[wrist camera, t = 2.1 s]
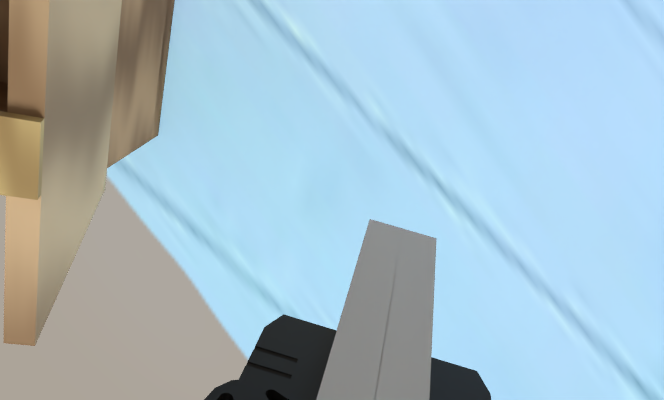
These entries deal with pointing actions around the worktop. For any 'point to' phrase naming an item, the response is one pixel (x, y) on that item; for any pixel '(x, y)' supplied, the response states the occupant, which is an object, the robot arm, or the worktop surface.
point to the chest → (124, 72)
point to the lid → (53, 146)
